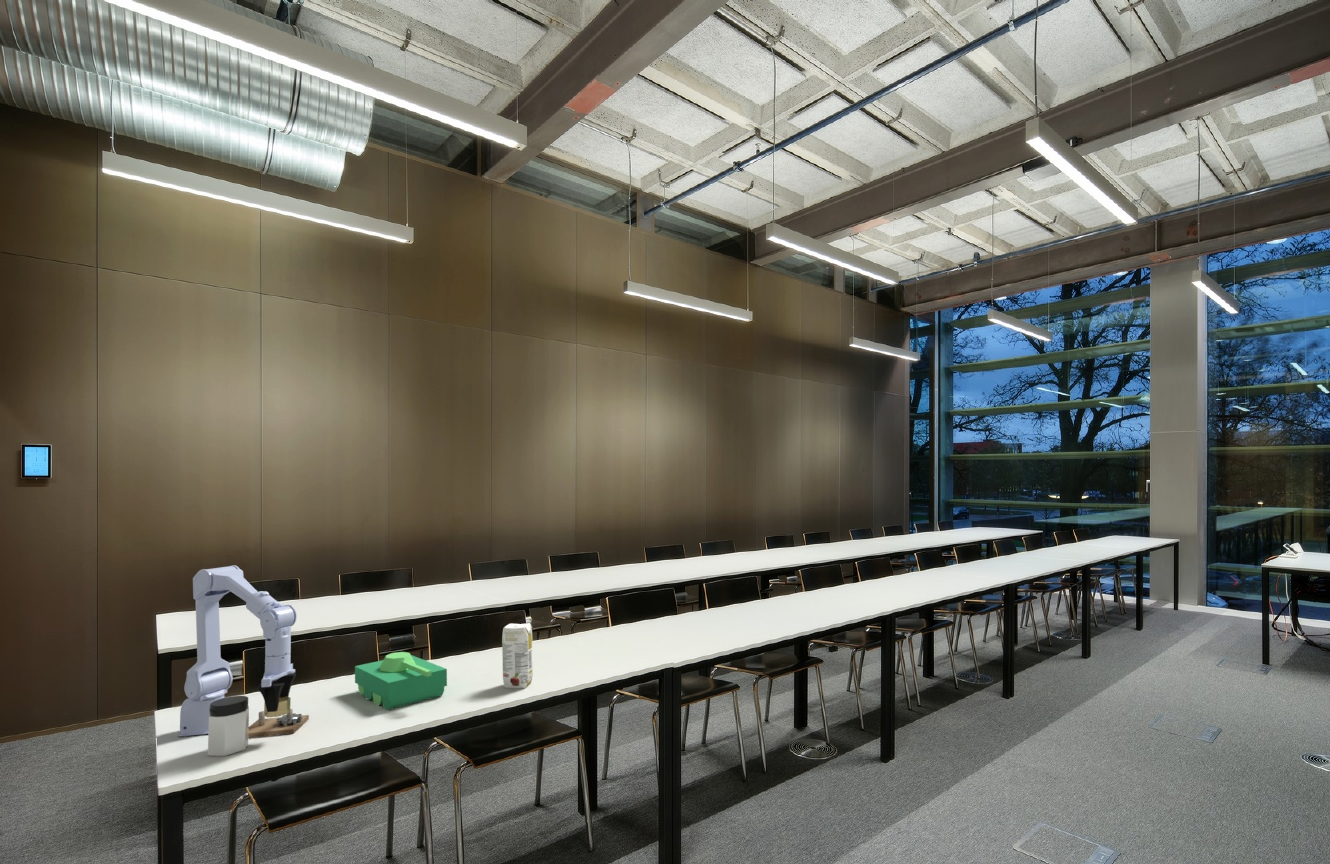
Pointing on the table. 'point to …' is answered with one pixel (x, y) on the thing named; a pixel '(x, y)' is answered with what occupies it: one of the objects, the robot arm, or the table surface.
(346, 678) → the table surface
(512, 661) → the juice carton
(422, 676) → the toy tank
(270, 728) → the gear board
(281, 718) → the gear
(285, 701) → the gear ring
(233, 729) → the jar
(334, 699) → the table surface
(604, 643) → the table surface
